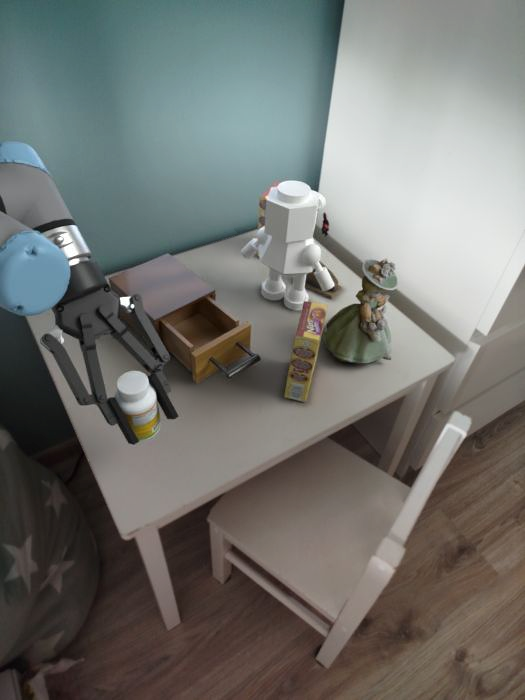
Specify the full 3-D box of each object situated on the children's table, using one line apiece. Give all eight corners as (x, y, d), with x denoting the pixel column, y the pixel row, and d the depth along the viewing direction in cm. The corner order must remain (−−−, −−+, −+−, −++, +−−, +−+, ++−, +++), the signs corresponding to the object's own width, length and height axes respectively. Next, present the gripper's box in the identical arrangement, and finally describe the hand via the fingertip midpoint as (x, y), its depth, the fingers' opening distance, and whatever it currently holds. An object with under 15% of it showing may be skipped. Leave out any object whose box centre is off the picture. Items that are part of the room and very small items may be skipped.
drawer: (270, 368, 84) (273, 341, 80) (217, 403, 78) (216, 376, 73) (202, 312, 94) (201, 285, 90) (150, 339, 88) (146, 312, 83)
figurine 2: (277, 275, 106) (280, 242, 100) (288, 266, 109) (291, 234, 102) (331, 299, 101) (338, 266, 95) (341, 289, 103) (348, 256, 97)
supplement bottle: (118, 418, 66) (106, 373, 60) (155, 407, 68) (147, 361, 61) (127, 448, 63) (115, 403, 56) (165, 435, 65) (158, 390, 58)
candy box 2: (307, 403, 80) (320, 341, 69) (283, 398, 81) (292, 335, 70) (315, 367, 86) (328, 304, 76) (293, 362, 87) (302, 299, 76)
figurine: (369, 390, 83) (398, 304, 69) (304, 353, 89) (318, 267, 74) (403, 346, 92) (435, 262, 77) (342, 315, 97) (361, 231, 83)
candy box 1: (271, 261, 110) (276, 201, 99) (255, 256, 111) (258, 196, 100) (286, 243, 115) (292, 184, 105) (271, 238, 117) (275, 180, 106)
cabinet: (216, 323, 94) (215, 289, 87) (159, 354, 87) (154, 320, 81) (171, 286, 101) (167, 252, 95) (116, 312, 94) (108, 277, 88)
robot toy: (340, 302, 100) (364, 194, 82) (315, 332, 93) (336, 220, 75) (255, 267, 108) (260, 160, 90) (227, 292, 101) (226, 182, 83)
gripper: (-10, 292, 50) (96, 473, 54) (138, 237, 59) (220, 394, 63) (-11, 305, 56) (84, 466, 60) (123, 253, 66) (198, 395, 69)
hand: (153, 429), depth 62 cm, fingers closed on supplement bottle, 5 cm apart
